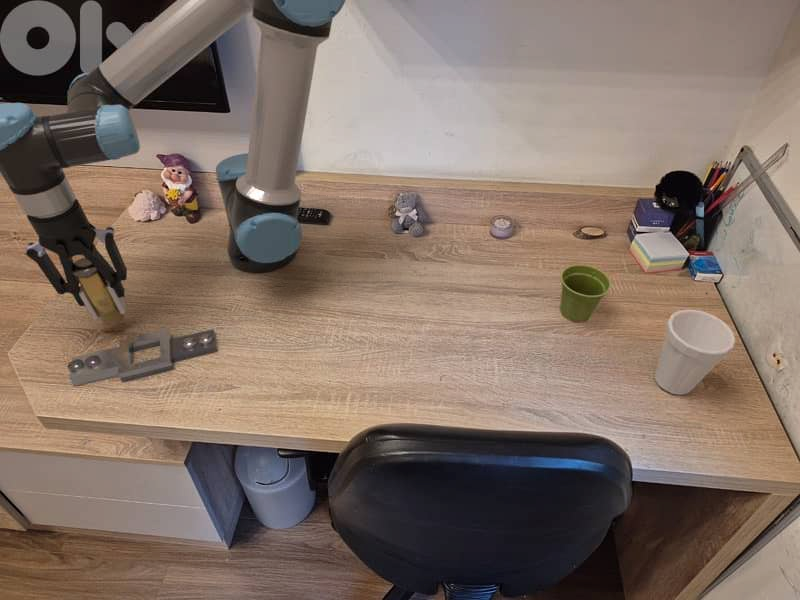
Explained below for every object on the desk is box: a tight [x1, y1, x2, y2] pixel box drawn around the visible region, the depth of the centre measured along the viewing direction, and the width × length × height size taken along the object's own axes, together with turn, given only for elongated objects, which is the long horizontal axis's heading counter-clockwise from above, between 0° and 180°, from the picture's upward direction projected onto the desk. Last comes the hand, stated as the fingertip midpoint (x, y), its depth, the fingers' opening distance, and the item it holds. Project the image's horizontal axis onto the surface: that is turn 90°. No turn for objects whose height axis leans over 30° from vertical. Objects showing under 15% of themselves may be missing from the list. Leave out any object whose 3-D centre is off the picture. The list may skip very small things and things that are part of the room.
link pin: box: [72, 257, 126, 327], centre depth 95 cm, size 5×5×13 cm
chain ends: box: [67, 328, 218, 387], centre depth 95 cm, size 24×9×3 cm, turn 110°
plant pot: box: [559, 263, 612, 323], centre depth 103 cm, size 9×9×9 cm
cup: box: [654, 309, 736, 396], centre depth 88 cm, size 10×10×13 cm
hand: (110, 311), depth 99 cm, fingers closed on link pin, 4 cm apart
